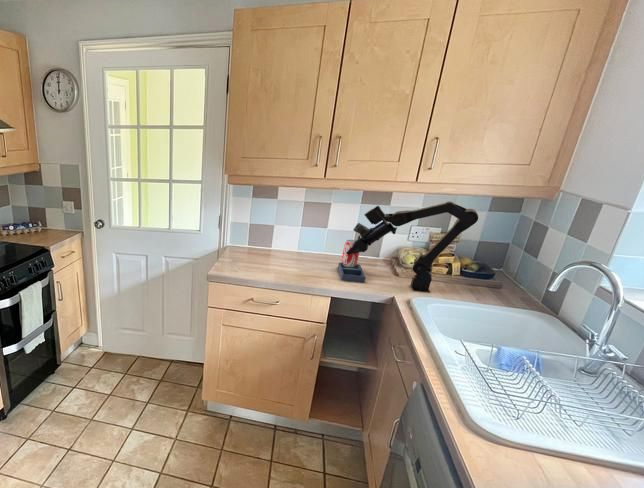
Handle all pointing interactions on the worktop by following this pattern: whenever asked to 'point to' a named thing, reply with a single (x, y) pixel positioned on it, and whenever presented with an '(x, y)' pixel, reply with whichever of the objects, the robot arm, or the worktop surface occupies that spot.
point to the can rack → (351, 273)
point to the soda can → (349, 255)
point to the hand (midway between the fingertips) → (348, 251)
